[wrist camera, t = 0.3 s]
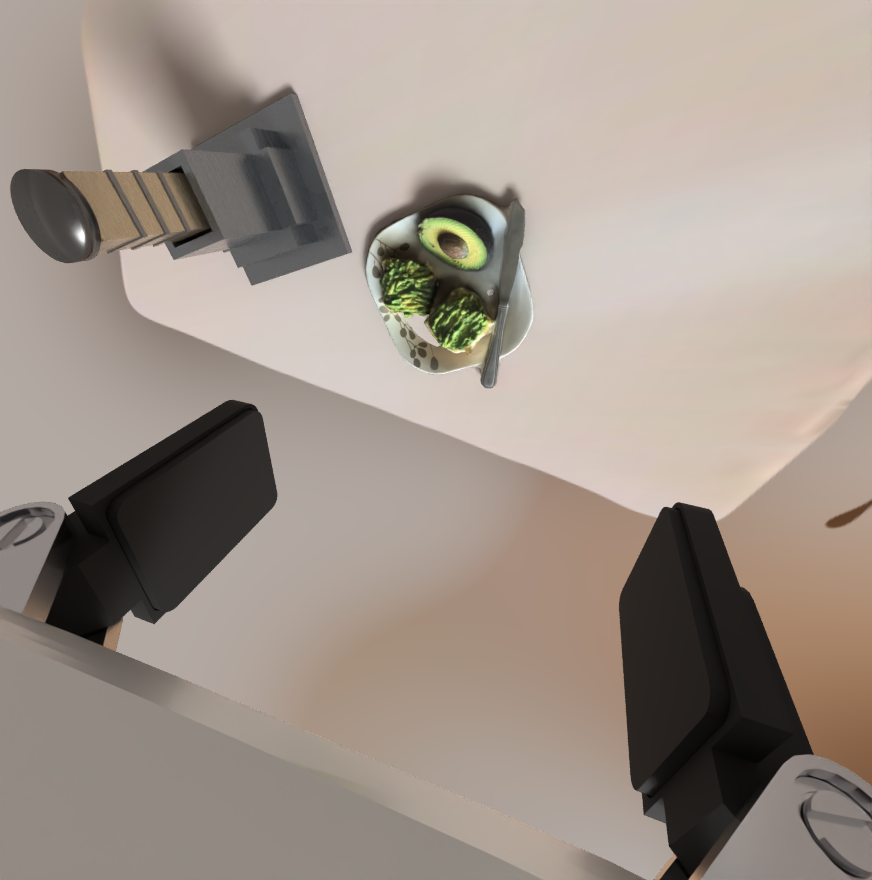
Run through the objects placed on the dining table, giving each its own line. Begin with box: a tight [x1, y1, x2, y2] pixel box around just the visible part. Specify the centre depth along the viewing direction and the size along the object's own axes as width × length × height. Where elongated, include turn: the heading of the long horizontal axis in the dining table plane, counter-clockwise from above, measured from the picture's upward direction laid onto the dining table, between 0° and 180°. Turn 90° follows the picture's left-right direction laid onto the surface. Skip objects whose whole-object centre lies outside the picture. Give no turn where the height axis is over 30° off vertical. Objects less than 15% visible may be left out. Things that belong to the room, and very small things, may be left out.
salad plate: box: [366, 194, 533, 389], centre depth 43 cm, size 19×18×5 cm
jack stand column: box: [10, 169, 213, 263], centre depth 35 cm, size 5×5×22 cm
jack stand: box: [143, 93, 352, 285], centre depth 39 cm, size 14×14×13 cm
